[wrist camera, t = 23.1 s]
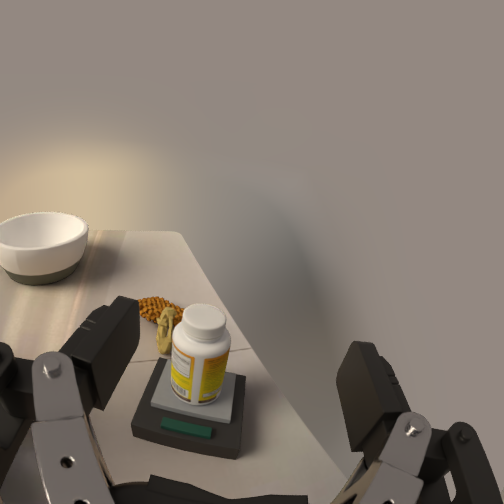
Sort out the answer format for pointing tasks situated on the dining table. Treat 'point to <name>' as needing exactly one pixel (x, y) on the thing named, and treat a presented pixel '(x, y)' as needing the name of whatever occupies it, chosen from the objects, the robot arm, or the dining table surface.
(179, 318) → the ornament
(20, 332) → the dining table surface
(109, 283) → the dining table surface
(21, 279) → the bowl
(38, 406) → the robot arm
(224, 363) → the supplement bottle
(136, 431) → the scale
